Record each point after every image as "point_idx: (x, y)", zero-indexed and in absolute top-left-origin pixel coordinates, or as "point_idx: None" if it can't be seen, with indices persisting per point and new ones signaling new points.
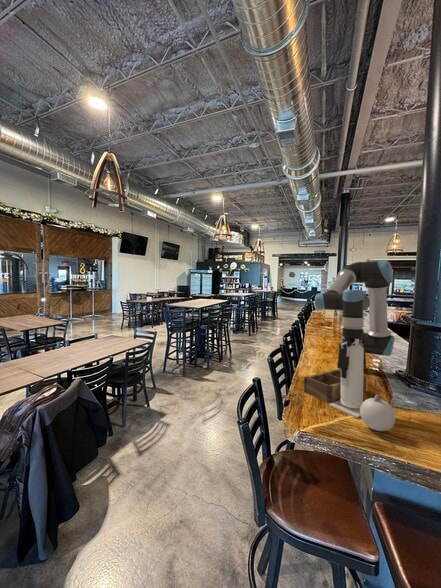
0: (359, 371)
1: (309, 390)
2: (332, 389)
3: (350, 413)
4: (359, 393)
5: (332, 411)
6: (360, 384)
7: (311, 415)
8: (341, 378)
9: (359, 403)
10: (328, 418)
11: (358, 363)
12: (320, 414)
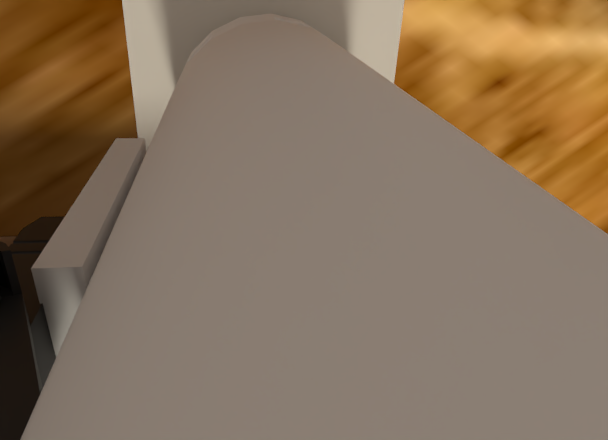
0: (414, 109)
1: None
2: None
3: (397, 30)
4: (313, 36)
5: None
6: (321, 49)
7: (598, 171)
8: None
9: (145, 103)
10: (564, 86)
11: (558, 211)
12: (545, 152)
